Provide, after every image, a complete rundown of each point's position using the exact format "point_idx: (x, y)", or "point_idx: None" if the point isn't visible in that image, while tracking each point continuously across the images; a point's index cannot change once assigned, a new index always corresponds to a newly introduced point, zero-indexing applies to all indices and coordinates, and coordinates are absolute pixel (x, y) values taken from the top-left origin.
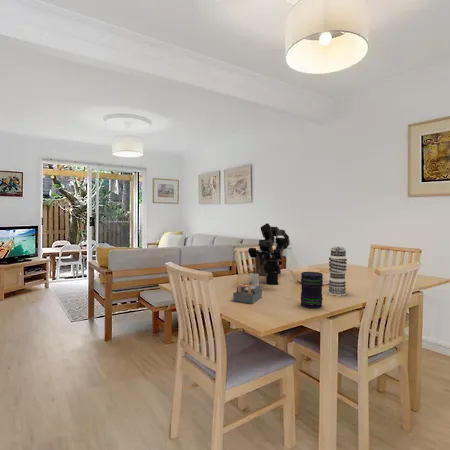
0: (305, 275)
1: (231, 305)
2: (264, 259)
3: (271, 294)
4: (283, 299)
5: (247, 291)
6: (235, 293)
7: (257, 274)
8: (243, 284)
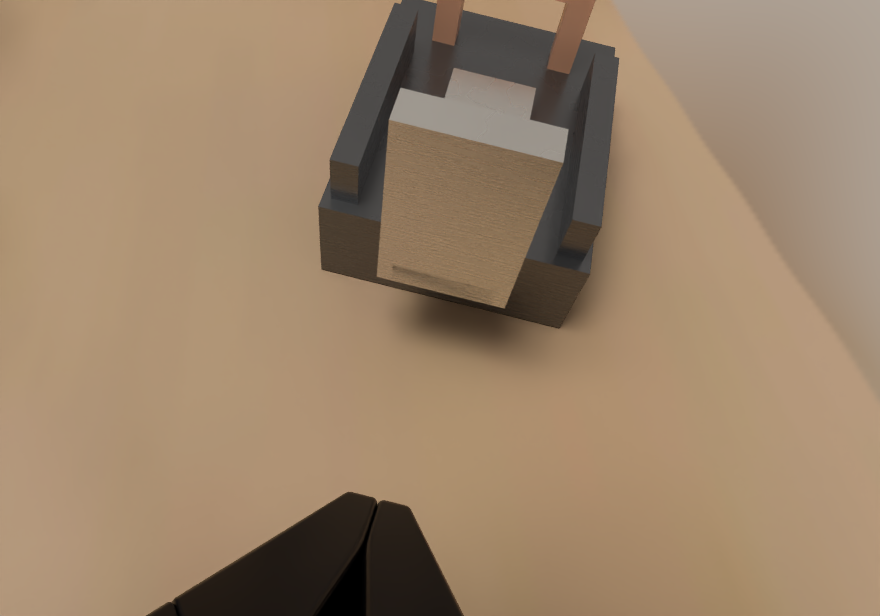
0: None
1: None
2: (177, 606)
3: (181, 440)
4: (47, 237)
5: None
6: (590, 43)
7: (406, 92)
8: (593, 193)
